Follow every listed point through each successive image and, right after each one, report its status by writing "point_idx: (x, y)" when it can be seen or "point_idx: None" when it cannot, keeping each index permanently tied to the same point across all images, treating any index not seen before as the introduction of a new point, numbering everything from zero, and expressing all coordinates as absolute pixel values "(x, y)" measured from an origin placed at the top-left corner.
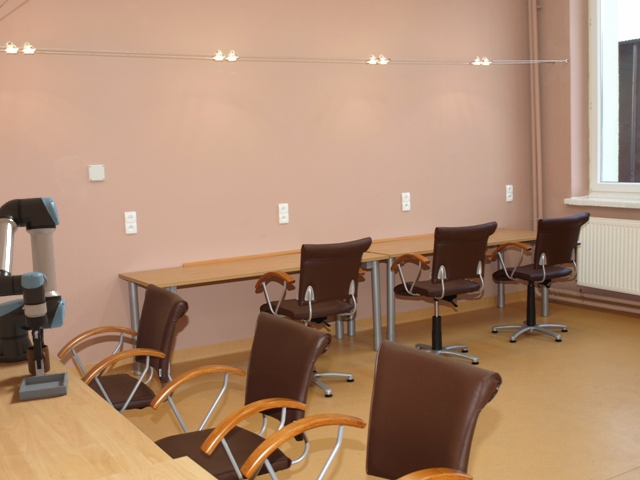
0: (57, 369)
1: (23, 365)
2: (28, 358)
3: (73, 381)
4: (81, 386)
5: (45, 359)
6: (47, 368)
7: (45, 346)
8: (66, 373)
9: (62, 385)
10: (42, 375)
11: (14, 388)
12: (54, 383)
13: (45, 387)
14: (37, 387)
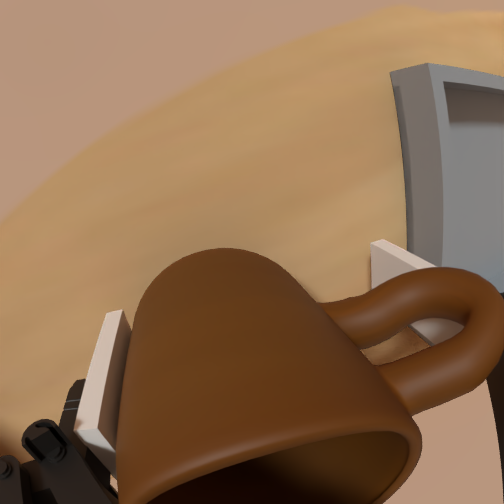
0: (76, 219)
1: (20, 435)
2: (319, 458)
3: (416, 42)
4: (478, 22)
5: (471, 274)
6: (271, 262)
7: (154, 472)
8: (453, 70)
9: (488, 104)
10: (448, 240)
11: (418, 349)
12: (459, 149)
13: (491, 189)
14: (479, 231)
